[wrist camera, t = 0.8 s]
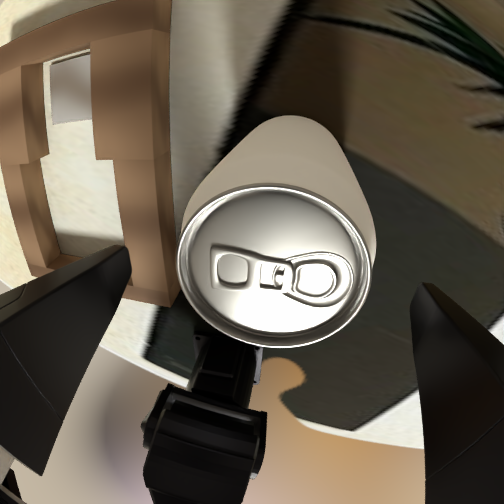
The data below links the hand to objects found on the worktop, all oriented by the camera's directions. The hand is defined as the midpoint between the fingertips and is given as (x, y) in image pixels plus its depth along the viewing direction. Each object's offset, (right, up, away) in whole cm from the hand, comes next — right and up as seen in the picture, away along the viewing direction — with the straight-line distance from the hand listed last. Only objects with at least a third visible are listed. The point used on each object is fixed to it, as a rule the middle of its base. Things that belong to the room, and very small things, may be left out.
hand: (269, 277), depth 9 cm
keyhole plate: (-14, +8, +12) cm, 20 cm away
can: (+2, +6, +10) cm, 12 cm away
